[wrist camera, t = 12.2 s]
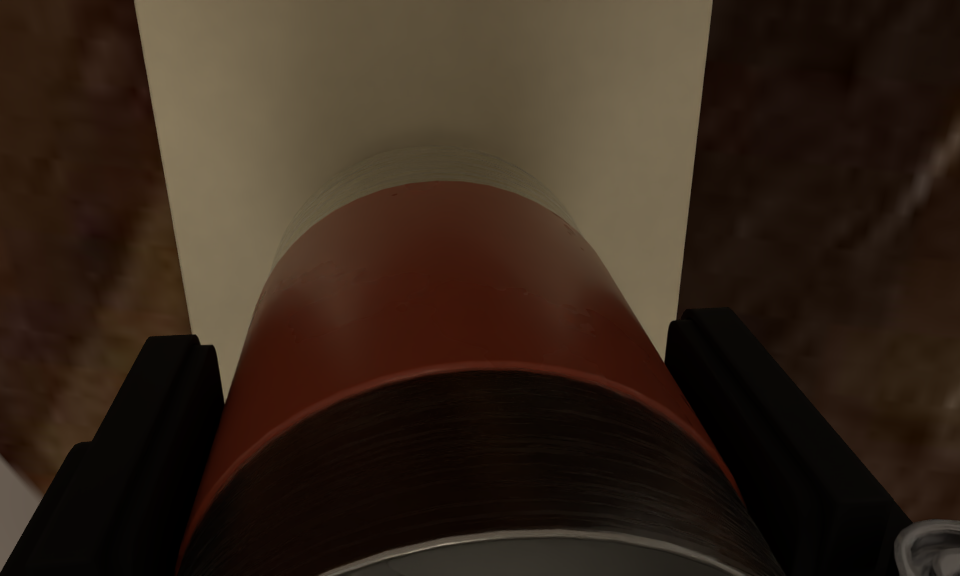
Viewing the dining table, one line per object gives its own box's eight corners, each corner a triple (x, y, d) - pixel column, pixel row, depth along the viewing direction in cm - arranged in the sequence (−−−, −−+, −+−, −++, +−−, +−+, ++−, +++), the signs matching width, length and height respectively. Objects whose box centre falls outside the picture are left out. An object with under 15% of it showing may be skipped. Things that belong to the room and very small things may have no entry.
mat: (138, -32, 14) (127, -30, 13) (706, -38, 15) (718, -35, 14) (219, 446, 18) (213, 463, 18) (655, 421, 19) (663, 436, 19)
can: (246, 146, 13) (15, 564, 5) (603, 135, 13) (940, 495, 5) (284, 446, 15) (173, 1061, 7) (585, 427, 16) (797, 977, 8)
